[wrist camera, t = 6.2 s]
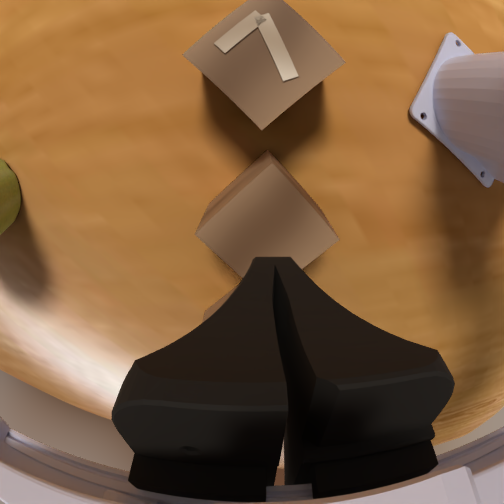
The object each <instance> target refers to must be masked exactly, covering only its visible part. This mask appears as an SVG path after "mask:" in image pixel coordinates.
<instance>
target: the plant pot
mask: <svg viewBox="0 0 504 504" xmlns="http://www.w3.org/2000/svg"><path fill="white" fill-rule="evenodd" d="M20 204H21V196H20V189H19V184H18V181H17V178H16V175H15V173H14V172H13V171H11V170H10V169H9V167H8V166H7V165H6V162H5V161H4V160H1V159H0V235H1V234H2V233H3V232H4V231H5V230H6V229H7V228H8V227H9V226H10V225H11V224H12V223H13V222H14V221H15V219H16V216H17V214H18V212H19V209H20Z"/></svg>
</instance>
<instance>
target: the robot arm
mask: <svg viewBox="0 0 504 504" xmlns="http://www.w3.org/2000/svg"><path fill="white" fill-rule="evenodd" d="M455 42H457V44H458V46H457V45H456V43H455ZM409 112H410V115H411V116H412V118H414V119H415V120H416V121H417V122H419V123H420V124H421V125H422V126H423V127H424V128H426V129H427V130H428V131H429V132H430V133H431V134H433V135H434V136H435V137H436V138H437V139H438V140H439V141H440V142H441V143H442V144H444V145H445V146H446V147H447V148H448V149H449V150H450V151H451V152H452V153H453V154H454V155H455V156H456V157H457V158H458V159H459V160H460V161H461V162H462V163H463V164H464V165H465V166H466V167H467V168H468V169H469V170H470V171H471V172H472V173H473V174H474V175H475V177H476V178H477V179H478V180H479V181H480V182H481V183H482V184H483V185H484V186H485V187H487V188H489V187H490V186H491V185H492V183H493V181H494V179H496V180H498V181H500V182H503V183H504V52H492V53H482V54H474V53H473V52H472V51H471V50H470V49H469V48H468V47H467V46H466V45H465V44H464V43H463V42H462V41H461V40H460V39H459V38H458V37H457V36H456V35H455V34H454V33H451V32H450V33H447V34H446V35H445V37H444V39H443V41H442V44H441V46H440V48H439V50H438V52H437V54H436V56H435V58H434V61H433V63H432V65H431V67H430V69H429V71H428V73H427V75H426V77H425V79H424V81H423V83H422V85H421V87H420V89H419V91H418V93H417V95H416V97H415V99H414V101H413V102H412V104H411V106H410V109H409ZM421 113H423V115H424V118H423V119H421V117H420V115H421ZM481 172H482V175H480V174H481ZM454 385H455V383H454V380H453V377H452V375H451V373H450V371H449V369H448V368H447V366H446V364H445V362H444V361H443V359H442V357H441V355H440V354H439V352H438V351H437V350H435V349H432V348H429V347H426V346H423V345H420V344H416V343H413V342H410V341H407V340H405V339H402V338H400V337H397V336H395V335H393V334H390V333H388V332H386V331H384V330H382V329H380V328H378V327H376V326H374V325H372V324H370V323H368V322H367V321H365V320H363V319H361V318H359V317H358V316H356V315H355V314H353V313H351V312H350V311H348V310H347V309H346V308H344V307H343V306H341V305H340V304H339V303H337V302H336V301H335V300H333V299H332V298H331V297H330V296H328V295H327V294H326V293H325V292H324V291H323V290H322V289H320V288H319V287H318V286H317V285H316V284H315V283H314V282H313V281H312V280H311V279H310V278H309V277H308V276H307V275H306V274H305V272H304V271H303V270H302V269H301V268H300V267H299V266H298V265H297V263H296V262H295V261H294V260H293V259H292V258H291V257H255V258H254V259H253V260H252V263H251V265H250V267H249V269H248V271H247V273H246V274H245V276H244V277H243V279H242V280H241V282H240V283H239V285H238V286H237V288H236V289H235V290H234V291H233V293H232V294H231V295H230V296H229V298H228V299H227V300H226V301H225V302H224V303H223V305H222V306H221V307H220V308H219V309H218V310H217V311H216V312H214V313H213V314H212V315H211V316H210V317H209V318H208V319H207V320H205V321H204V322H203V323H202V324H201V325H199V326H198V327H197V328H195V329H194V330H193V331H191V332H189V333H188V334H186V335H185V336H183V337H182V338H180V339H178V340H177V341H175V342H173V343H171V344H170V345H168V346H166V347H164V348H162V349H160V350H157V351H155V352H153V353H151V354H149V355H147V356H144V357H142V358H140V359H137V360H135V361H134V363H133V365H132V367H131V369H130V371H129V372H128V374H127V376H126V378H125V380H124V382H123V384H122V386H121V389H120V391H119V394H118V397H117V399H116V402H115V405H114V407H113V410H112V421H113V423H114V425H115V427H116V429H117V430H118V432H119V433H120V434H121V435H122V437H123V438H124V440H125V441H126V442H127V444H128V445H129V446H130V448H131V449H132V450H133V451H134V453H135V454H134V458H133V462H132V466H131V470H130V472H129V471H125V470H120V469H117V468H113V467H109V466H106V465H102V464H99V463H95V462H92V461H89V460H86V459H83V458H80V457H77V456H74V455H71V454H68V453H66V452H63V451H60V450H57V449H55V448H53V447H50V446H48V445H45V444H43V443H41V442H38V441H36V440H34V439H32V438H29V437H27V436H25V435H23V434H21V433H19V432H17V431H15V430H13V429H11V428H9V426H8V424H7V423H6V422H5V421H4V420H3V419H2V418H1V417H0V500H1V501H3V502H4V503H5V504H504V427H502V428H500V429H498V430H496V431H494V432H492V433H490V434H488V435H486V436H484V437H482V438H479V439H477V440H475V441H473V442H471V443H468V444H466V445H463V446H461V447H459V448H456V449H454V450H451V451H448V452H446V453H443V454H440V455H438V456H436V454H435V452H434V449H433V446H432V443H431V440H432V439H433V438H434V437H435V432H434V430H433V427H432V425H431V424H432V422H433V421H434V420H435V419H436V417H437V416H438V415H439V413H440V412H441V411H442V409H443V408H444V407H445V405H446V404H447V402H448V401H449V399H450V397H451V395H452V393H453V389H454ZM283 439H284V470H285V485H282V486H274V482H275V477H276V471H277V466H279V461H280V456H281V450H282V445H283Z"/></svg>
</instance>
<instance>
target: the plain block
mask: <svg viewBox="0 0 504 504" xmlns="http://www.w3.org/2000/svg"><path fill="white" fill-rule="evenodd" d="M195 235H196V236H197V237H198V238H199V239H200V240H201V241H202V242H203V243H205V244H206V245H207V246H208V247H209V248H210V249H211V250H212V251H213V252H214V253H215V254H217V255H218V256H219V257H220V258H221V259H222V260H223V261H224V262H225V263H226V264H227V265H229V266H230V267H231V268H232V269H233V270H234V271H235V272H236V273H237V274H239V275H240V276H241V277H242V278H243V277H244V276H245V274H246V273H247V271H248V269H249V267H250V265H251V263H252V260H253V259H254V258H255V257H291V258H292V259H293V260H294V261H295V262H296V263H297V265H298V266H299V267H300V268H301V269H303V268H304V267H305V266H307V265H308V264H309V263H310V262H312V261H313V260H314V259H316V258H317V257H318V256H319V255H321V254H322V253H323V252H325V251H326V250H327V249H328V248H330V247H331V246H332V245H333V244H335V243H336V242H337V241H338V240H340V239H339V238H338V236H337V234H336V233H335V231H334V229H333V228H332V226H331V225H330V223H329V221H328V220H327V218H326V217H325V215H324V213H323V212H322V210H321V209H320V207H319V206H318V205H317V204H316V203H315V201H314V200H313V199H312V198H311V197H310V196H309V194H308V193H307V192H306V191H305V190H304V189H303V188H302V186H301V185H300V184H299V183H298V182H297V181H296V180H295V179H294V178H293V176H292V175H291V174H290V173H289V172H288V171H287V170H286V169H285V168H284V166H283V165H282V164H281V163H280V162H279V161H278V160H277V159H276V158H275V157H274V156H273V155H272V154H271V152H270V151H269V150H267V151H266V152H264V153H263V154H262V155H261V156H260V157H259V158H258V159H257V160H255V161H254V162H253V163H252V164H251V165H250V166H249V167H248V168H247V169H245V170H244V171H243V172H242V173H241V174H240V175H239V176H238V177H237V178H236V179H235V180H234V181H232V182H231V183H230V184H229V185H228V186H227V187H226V188H225V189H224V190H223V191H222V192H221V193H220V194H219V195H218V196H216V197H215V198H214V199H213V200H212V201H211V202H210V203H209V205H208V207H207V209H206V211H205V213H204V215H203V217H202V219H201V222H200V224H199V226H198V228H197V230H196V232H195Z"/></svg>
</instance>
